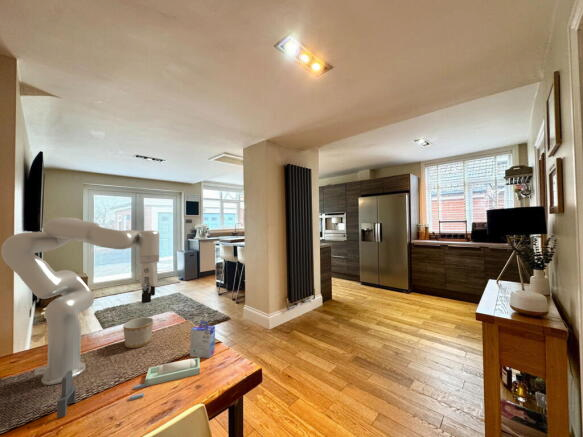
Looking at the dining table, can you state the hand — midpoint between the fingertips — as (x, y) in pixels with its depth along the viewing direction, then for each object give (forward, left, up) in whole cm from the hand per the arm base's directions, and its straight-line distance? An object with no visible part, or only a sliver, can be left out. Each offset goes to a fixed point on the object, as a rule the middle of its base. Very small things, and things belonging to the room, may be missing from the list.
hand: (148, 298), depth 99 cm
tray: (+11, -10, -28) cm, 32 cm away
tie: (-20, -17, -28) cm, 39 cm away
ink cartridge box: (+22, 0, -29) cm, 36 cm away
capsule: (+12, -10, -28) cm, 32 cm away
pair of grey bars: (0, -17, -28) cm, 33 cm away
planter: (-8, +23, -29) cm, 38 cm away
